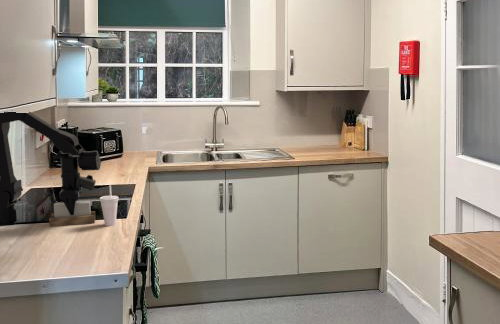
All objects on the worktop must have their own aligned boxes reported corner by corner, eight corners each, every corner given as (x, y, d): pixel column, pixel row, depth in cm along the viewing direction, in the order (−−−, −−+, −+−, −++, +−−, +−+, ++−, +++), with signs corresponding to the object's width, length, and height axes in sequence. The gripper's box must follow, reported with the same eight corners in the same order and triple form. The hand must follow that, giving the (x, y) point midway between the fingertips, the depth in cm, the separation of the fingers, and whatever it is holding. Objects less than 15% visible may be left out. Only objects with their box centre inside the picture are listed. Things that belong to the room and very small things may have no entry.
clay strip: (54, 218, 188) (53, 204, 187) (55, 216, 191) (54, 202, 190) (90, 216, 190) (89, 202, 190) (90, 214, 193) (89, 201, 193)
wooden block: (49, 226, 186) (49, 218, 185) (52, 220, 193) (51, 213, 192) (94, 223, 189) (94, 216, 189) (95, 218, 196) (95, 211, 196)
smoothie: (120, 226, 185) (118, 186, 183) (100, 227, 183) (98, 187, 181) (119, 221, 191) (117, 182, 189) (100, 222, 189) (98, 184, 187)
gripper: (92, 173, 181) (94, 218, 183) (94, 165, 199) (97, 206, 201) (57, 175, 178) (60, 220, 181) (63, 166, 196) (65, 208, 199)
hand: (72, 213), depth 190 cm, fingers closed on clay strip, 3 cm apart
